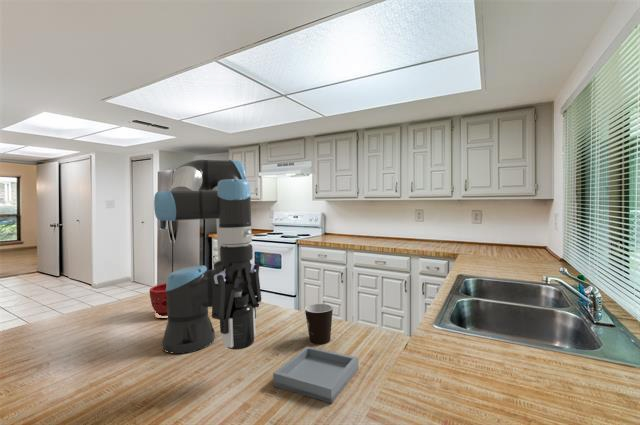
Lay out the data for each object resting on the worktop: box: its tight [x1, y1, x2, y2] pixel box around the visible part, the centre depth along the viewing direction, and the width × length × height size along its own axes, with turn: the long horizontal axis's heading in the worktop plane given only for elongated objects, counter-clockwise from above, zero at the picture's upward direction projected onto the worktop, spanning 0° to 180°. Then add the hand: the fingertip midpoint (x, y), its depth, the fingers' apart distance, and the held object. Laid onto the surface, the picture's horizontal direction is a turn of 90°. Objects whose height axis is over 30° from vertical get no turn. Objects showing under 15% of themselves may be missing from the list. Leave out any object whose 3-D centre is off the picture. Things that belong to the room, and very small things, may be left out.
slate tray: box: [272, 346, 359, 404], centre depth 74 cm, size 15×15×3 cm
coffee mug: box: [304, 303, 334, 346], centre depth 96 cm, size 12×9×10 cm
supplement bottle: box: [224, 292, 255, 351], centre depth 74 cm, size 7×7×12 cm
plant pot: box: [149, 282, 168, 316], centre depth 122 cm, size 13×13×12 cm
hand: (239, 339), depth 74 cm, fingers closed on supplement bottle, 7 cm apart
